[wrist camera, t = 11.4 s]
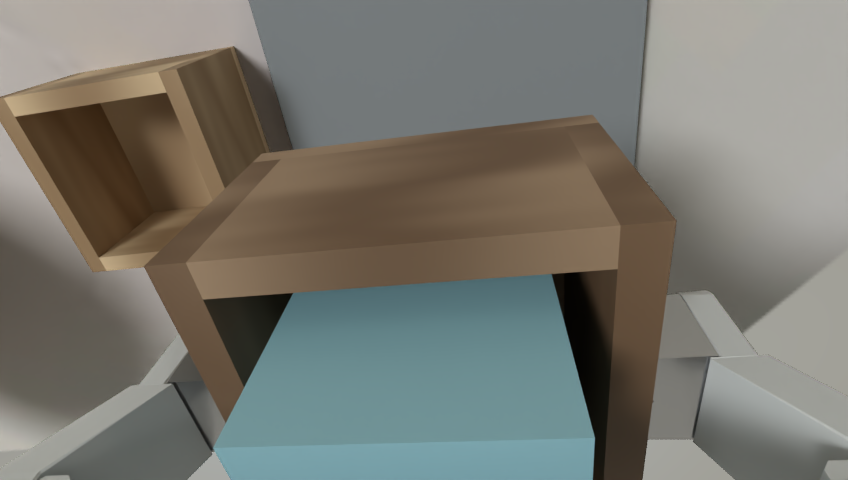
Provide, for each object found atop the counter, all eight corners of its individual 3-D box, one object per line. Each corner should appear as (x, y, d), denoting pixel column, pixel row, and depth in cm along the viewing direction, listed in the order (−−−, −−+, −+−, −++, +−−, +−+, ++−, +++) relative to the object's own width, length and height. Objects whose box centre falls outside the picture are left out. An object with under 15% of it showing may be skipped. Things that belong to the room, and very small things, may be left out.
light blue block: (530, 195, 9) (595, 438, 5) (536, 348, 11) (585, 627, 7) (334, 214, 10) (212, 448, 5) (372, 356, 12) (309, 619, 7)
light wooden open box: (236, 45, 18) (176, 68, 14) (289, 204, 21) (252, 256, 17) (80, 72, 19) (-13, 100, 15) (154, 219, 22) (92, 272, 18)
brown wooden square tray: (592, 114, 9) (676, 220, 5) (585, 369, 12) (633, 542, 9) (261, 153, 10) (144, 266, 6) (336, 381, 13) (287, 540, 10)
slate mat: (650, -97, 14) (655, -98, 14) (623, 264, 21) (625, 269, 20) (246, -26, 16) (241, -25, 16) (336, 284, 23) (334, 289, 22)
